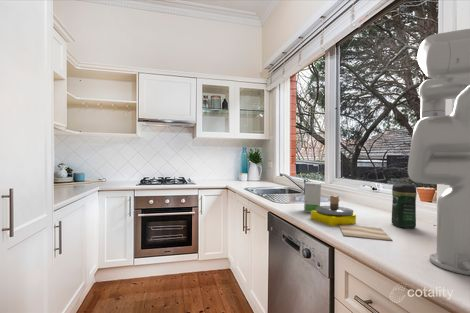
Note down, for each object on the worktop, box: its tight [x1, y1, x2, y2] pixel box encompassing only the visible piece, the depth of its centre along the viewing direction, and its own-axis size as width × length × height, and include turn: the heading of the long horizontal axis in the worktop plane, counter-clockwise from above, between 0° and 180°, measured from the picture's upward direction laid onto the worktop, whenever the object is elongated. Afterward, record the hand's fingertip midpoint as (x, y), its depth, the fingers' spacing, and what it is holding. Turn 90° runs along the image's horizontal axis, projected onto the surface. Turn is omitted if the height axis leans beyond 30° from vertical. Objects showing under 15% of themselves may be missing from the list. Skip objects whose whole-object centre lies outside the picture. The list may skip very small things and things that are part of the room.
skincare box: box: [303, 181, 322, 213], centre depth 137 cm, size 8×7×16 cm
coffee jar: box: [391, 182, 418, 229], centre depth 110 cm, size 10×8×19 cm
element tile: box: [310, 210, 357, 227], centre depth 118 cm, size 15×15×5 cm
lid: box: [316, 195, 354, 216], centre depth 117 cm, size 16×16×7 cm
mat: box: [338, 224, 393, 242], centre depth 100 cm, size 16×16×1 cm
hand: (431, 161), depth 97 cm, fingers open, 9 cm apart
